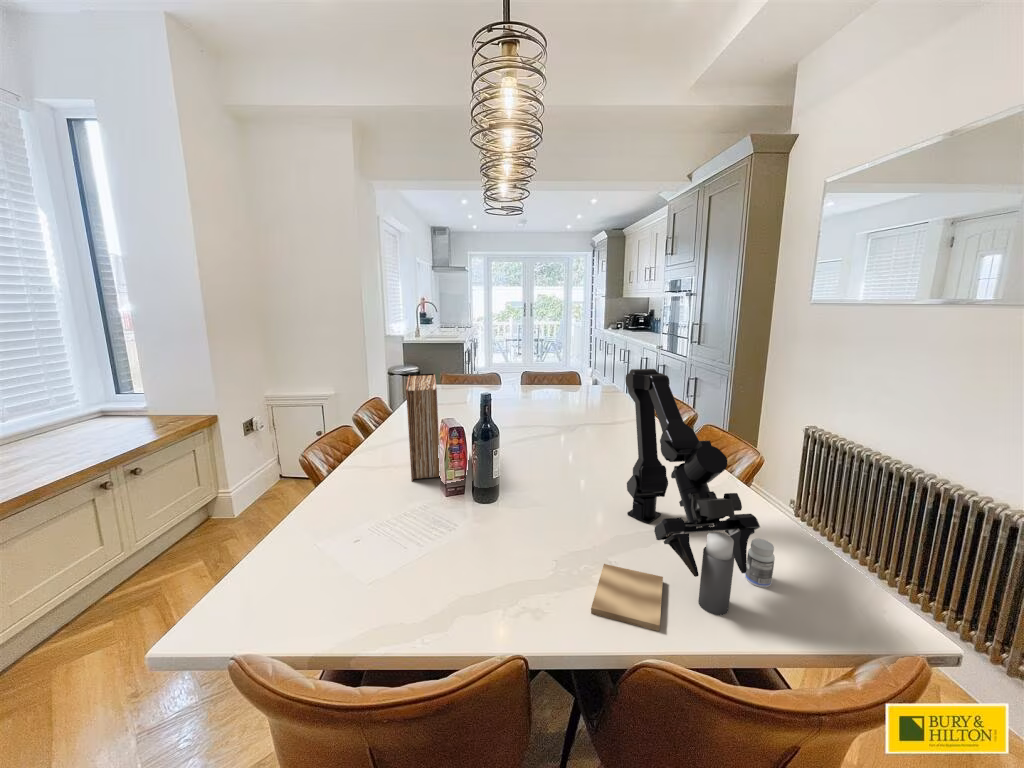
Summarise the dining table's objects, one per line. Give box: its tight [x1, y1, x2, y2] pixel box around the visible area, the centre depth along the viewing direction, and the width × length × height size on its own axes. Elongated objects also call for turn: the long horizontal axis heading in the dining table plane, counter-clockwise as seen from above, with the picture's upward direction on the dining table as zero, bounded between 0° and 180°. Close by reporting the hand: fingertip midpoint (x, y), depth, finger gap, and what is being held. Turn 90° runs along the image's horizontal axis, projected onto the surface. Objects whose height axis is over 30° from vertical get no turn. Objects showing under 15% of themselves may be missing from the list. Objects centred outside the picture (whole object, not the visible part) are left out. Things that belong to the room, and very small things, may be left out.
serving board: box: [590, 563, 664, 632], centre depth 83 cm, size 14×12×1 cm
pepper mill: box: [697, 531, 735, 616], centre depth 79 cm, size 5×5×14 cm
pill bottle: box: [744, 538, 776, 588], centre depth 87 cm, size 5×5×8 cm
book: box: [405, 373, 440, 482], centre depth 145 cm, size 25×9×30 cm, turn 11°
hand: (720, 574), depth 78 cm, fingers open, 9 cm apart
